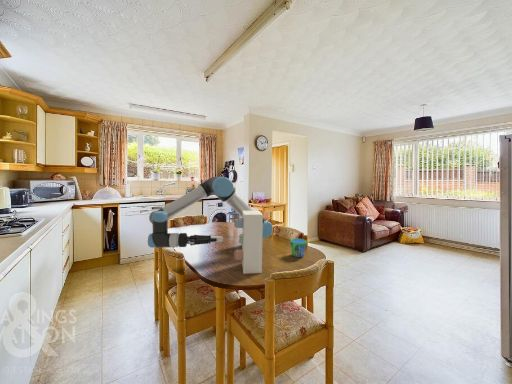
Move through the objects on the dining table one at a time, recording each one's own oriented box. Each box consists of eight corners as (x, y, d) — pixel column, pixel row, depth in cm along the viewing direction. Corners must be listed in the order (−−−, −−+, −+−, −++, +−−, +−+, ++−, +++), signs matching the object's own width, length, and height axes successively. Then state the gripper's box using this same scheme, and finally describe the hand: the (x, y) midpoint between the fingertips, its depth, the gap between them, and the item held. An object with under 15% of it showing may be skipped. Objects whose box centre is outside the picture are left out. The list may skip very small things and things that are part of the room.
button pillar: (258, 262, 135) (259, 210, 133) (261, 272, 122) (262, 214, 119) (242, 263, 134) (242, 210, 132) (243, 273, 120) (244, 214, 118)
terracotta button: (242, 256, 129) (242, 249, 129) (243, 259, 125) (243, 252, 124) (234, 257, 129) (234, 249, 128) (234, 260, 124) (234, 252, 124)
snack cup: (299, 260, 140) (299, 244, 139) (284, 256, 146) (285, 241, 146) (310, 254, 152) (311, 239, 151) (296, 250, 158) (297, 236, 158)
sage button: (247, 241, 129) (247, 234, 128) (247, 243, 124) (247, 236, 124) (238, 241, 128) (238, 234, 128) (239, 244, 124) (239, 236, 124)
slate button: (242, 226, 128) (242, 218, 128) (243, 227, 123) (243, 220, 123) (234, 226, 127) (234, 218, 127) (234, 228, 123) (234, 220, 123)
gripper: (181, 243, 129) (223, 242, 132) (176, 250, 116) (222, 249, 119) (181, 230, 128) (223, 229, 131) (176, 236, 115) (222, 235, 118)
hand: (222, 239), depth 125 cm, fingers closed
